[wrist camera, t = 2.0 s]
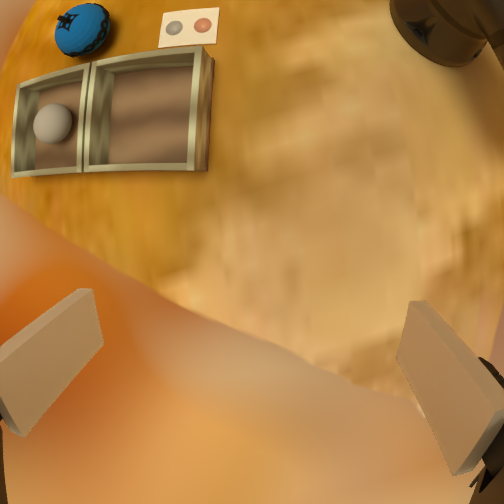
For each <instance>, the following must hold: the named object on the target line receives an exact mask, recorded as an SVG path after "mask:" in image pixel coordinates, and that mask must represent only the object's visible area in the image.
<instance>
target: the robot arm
mask: <svg viewBox="0 0 504 504" xmlns="http://www.w3.org/2000/svg"><path fill="white" fill-rule="evenodd" d="M390 11H391V15H392V18H393V21H394V23H395V25H396V27H397V28H398V30H399V32H400V33H401V34H402V36H403V37H404V38H405V39H406V41H407V42H408V43H409V44H410V45H411V46H412V47H413V48H414V49H415V50H417V51H418V52H419V53H420V54H422V55H423V56H425V57H426V58H428V59H430V60H431V61H433V62H436V63H438V64H441V65H444V66H449V67H459V66H463V65H465V64H467V63H469V62H471V61H473V60H474V59H476V58H477V57H478V56H479V54H480V53H481V51H482V49H483V48H484V46H485V45H486V43H487V41H488V42H489V43H490V45H491V47H492V49H493V51H494V52H495V54H496V56H497V58H498V60H499V62H500V64H501V66H502V68H503V70H504V0H390ZM103 344H104V341H103V337H102V333H101V328H100V323H99V319H98V314H97V309H96V304H95V299H94V293H93V289H85V288H78V289H77V290H76V291H74V292H73V293H71V294H70V295H68V296H67V297H66V298H64V299H63V300H61V301H60V302H59V303H57V304H56V305H55V306H53V307H52V308H50V309H49V310H48V311H46V312H45V313H44V314H42V315H41V316H40V317H38V318H37V319H36V320H34V321H33V322H31V323H30V324H29V325H27V326H26V327H25V328H24V329H22V330H21V331H20V332H19V333H17V334H16V335H14V336H13V337H12V338H11V339H9V340H8V341H7V342H5V343H4V344H3V345H2V346H0V421H1V420H2V419H3V420H4V421H5V423H6V425H7V426H8V428H9V430H10V431H12V432H14V433H16V434H17V435H19V436H21V437H23V438H25V437H26V435H27V434H28V433H29V432H30V430H31V429H32V428H33V427H34V425H35V424H36V423H37V422H38V420H39V419H40V418H41V417H42V416H43V414H44V413H45V412H46V410H47V409H48V408H49V407H50V406H51V405H52V403H53V402H54V401H55V400H56V399H57V397H58V396H59V395H60V394H61V393H62V392H63V390H64V389H65V388H66V387H67V386H68V384H69V383H70V382H71V381H72V380H73V379H74V378H75V376H76V375H77V374H78V373H79V372H80V371H81V369H82V368H83V367H84V366H85V365H86V364H87V363H88V361H89V360H90V359H91V358H92V357H93V356H94V354H95V353H96V352H97V351H98V350H99V349H100V348H101V347H102V346H103ZM396 359H397V361H398V363H399V365H400V367H401V369H402V370H403V372H404V374H405V376H406V378H407V380H408V382H409V384H410V386H411V388H412V390H413V392H414V394H415V396H416V398H417V400H418V402H419V404H420V406H421V408H422V410H423V412H424V414H425V416H426V418H427V420H428V423H429V425H430V427H431V429H432V431H433V433H434V435H435V438H436V440H437V442H438V444H439V446H440V448H441V451H442V453H443V455H444V457H445V460H446V462H447V465H448V467H449V469H450V472H451V474H452V476H453V477H454V476H457V475H460V474H463V473H466V472H469V471H472V470H473V469H474V468H475V466H476V465H477V464H478V462H479V461H480V460H481V458H482V459H483V461H484V463H485V467H484V468H483V469H482V470H481V471H480V473H479V474H478V475H477V477H476V478H475V479H474V480H473V481H472V483H471V484H470V486H469V487H473V485H474V484H475V483H476V482H477V484H476V487H475V490H474V493H473V495H472V498H471V500H470V503H469V504H504V378H503V377H502V376H501V375H499V372H498V371H497V370H496V369H495V367H494V366H493V365H492V364H491V363H489V362H488V361H486V360H485V359H483V358H481V357H477V356H476V355H475V354H474V353H473V352H472V351H471V349H470V348H469V347H468V346H467V345H466V344H465V343H464V341H463V340H462V339H461V338H460V337H459V336H458V335H457V334H456V333H455V331H454V330H453V329H452V328H451V327H450V326H449V325H448V324H447V323H446V322H445V321H444V319H443V318H442V317H441V316H440V315H439V314H438V313H437V312H436V311H435V310H434V309H433V308H432V307H431V306H430V305H429V304H428V303H427V302H426V301H410V302H409V306H408V311H407V316H406V321H405V325H404V329H403V333H402V338H401V342H400V346H399V349H398V353H397V357H396ZM2 442H3V441H2V429H1V426H0V504H8V501H7V494H6V485H5V477H4V464H3V443H2Z"/></svg>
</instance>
